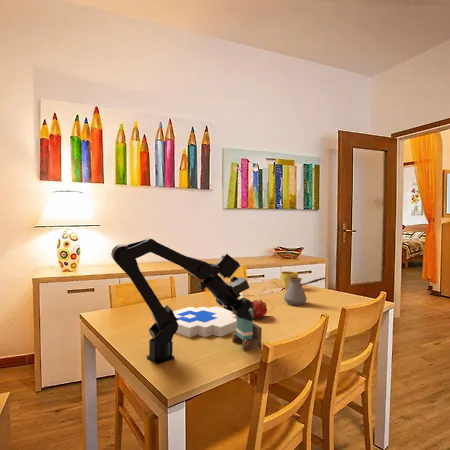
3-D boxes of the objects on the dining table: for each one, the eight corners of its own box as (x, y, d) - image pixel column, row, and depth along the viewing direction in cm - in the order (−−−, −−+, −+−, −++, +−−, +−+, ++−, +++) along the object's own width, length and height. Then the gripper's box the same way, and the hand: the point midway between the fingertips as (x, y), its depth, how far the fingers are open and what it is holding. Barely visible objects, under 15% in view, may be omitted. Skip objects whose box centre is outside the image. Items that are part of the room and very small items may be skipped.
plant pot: (301, 289, 210) (301, 273, 209) (287, 291, 204) (288, 274, 204) (289, 286, 218) (290, 270, 218) (276, 287, 213) (277, 271, 213)
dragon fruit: (246, 324, 150) (262, 322, 158) (260, 315, 145) (276, 313, 154) (238, 305, 154) (255, 304, 162) (252, 296, 149) (269, 296, 158)
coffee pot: (279, 304, 176) (280, 274, 176) (288, 299, 186) (289, 271, 185) (321, 311, 165) (322, 279, 164) (329, 305, 174) (329, 275, 174)
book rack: (244, 351, 117) (244, 330, 117) (232, 341, 126) (232, 321, 125) (261, 348, 120) (261, 327, 119) (248, 338, 128) (248, 319, 128)
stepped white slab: (205, 332, 124) (154, 316, 141) (205, 344, 124) (154, 326, 142) (251, 315, 145) (202, 303, 163) (251, 324, 145) (202, 311, 163)
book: (243, 340, 119) (243, 311, 118) (236, 334, 124) (236, 306, 124) (252, 338, 120) (253, 310, 120) (245, 333, 125) (245, 305, 125)
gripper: (247, 275, 111) (276, 306, 116) (224, 266, 128) (250, 294, 133) (224, 302, 108) (255, 333, 113) (203, 289, 125) (231, 316, 130)
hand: (248, 317), depth 122 cm, fingers closed on book, 5 cm apart
